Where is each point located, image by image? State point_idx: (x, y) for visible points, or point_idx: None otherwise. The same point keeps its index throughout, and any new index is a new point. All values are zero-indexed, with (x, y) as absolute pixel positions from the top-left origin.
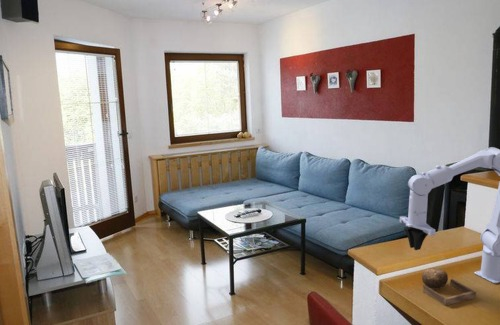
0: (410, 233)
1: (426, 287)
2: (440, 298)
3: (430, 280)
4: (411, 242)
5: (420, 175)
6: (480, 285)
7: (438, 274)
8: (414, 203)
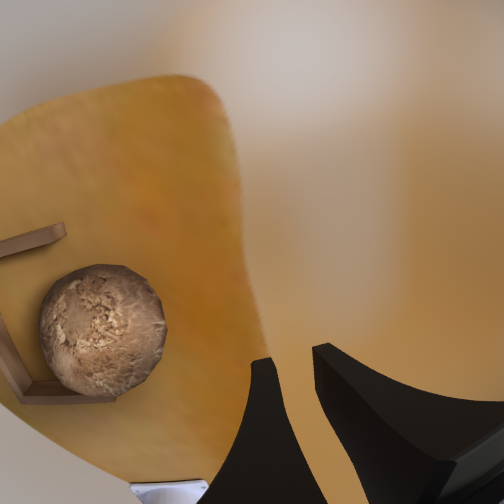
0: (393, 449)
1: (32, 234)
2: None
3: (61, 286)
4: (335, 380)
5: None
6: (118, 453)
7: (51, 344)
8: None
